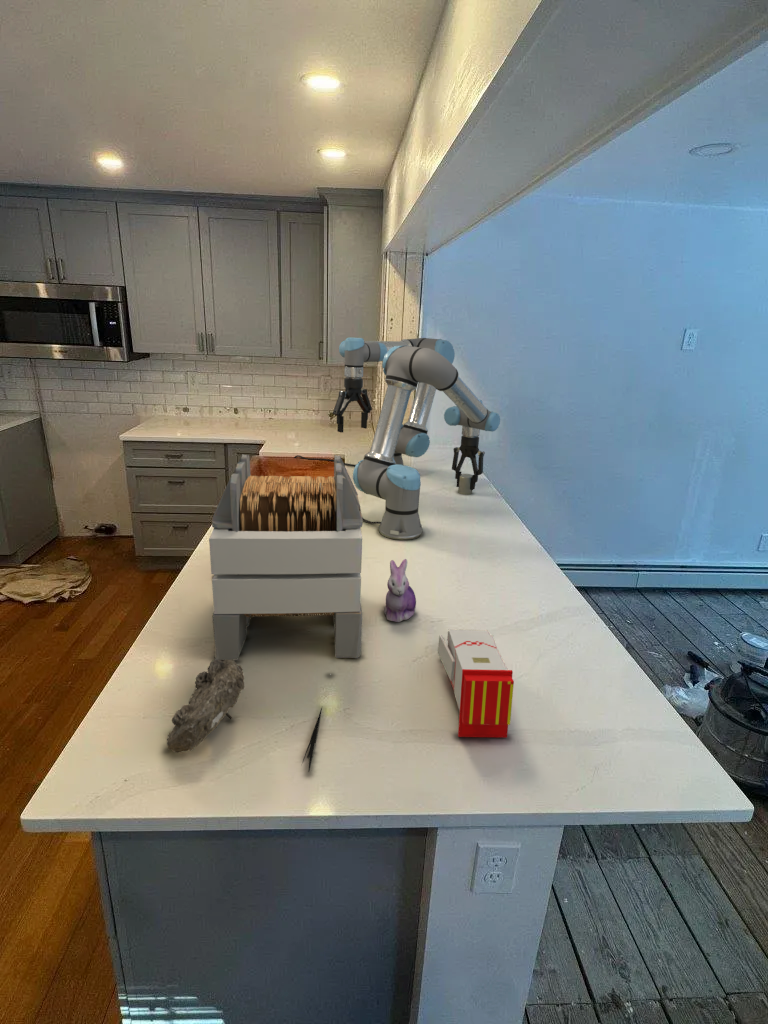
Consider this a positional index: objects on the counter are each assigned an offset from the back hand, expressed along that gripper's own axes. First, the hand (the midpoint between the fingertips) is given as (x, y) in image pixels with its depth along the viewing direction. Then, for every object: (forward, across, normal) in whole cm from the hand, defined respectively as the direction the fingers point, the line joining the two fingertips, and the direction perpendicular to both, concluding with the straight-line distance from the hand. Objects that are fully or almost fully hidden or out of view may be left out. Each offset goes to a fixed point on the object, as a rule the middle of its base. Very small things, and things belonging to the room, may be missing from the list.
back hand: (352, 430), depth 235 cm
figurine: (+26, -64, -84) cm, 108 cm away
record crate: (+26, -86, -67) cm, 113 cm away
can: (+26, +37, -34) cm, 57 cm away
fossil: (+26, -119, -84) cm, 148 cm away
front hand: (+24, +37, -34) cm, 56 cm away
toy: (+26, -77, -115) cm, 140 cm away
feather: (+26, -105, -99) cm, 147 cm away
